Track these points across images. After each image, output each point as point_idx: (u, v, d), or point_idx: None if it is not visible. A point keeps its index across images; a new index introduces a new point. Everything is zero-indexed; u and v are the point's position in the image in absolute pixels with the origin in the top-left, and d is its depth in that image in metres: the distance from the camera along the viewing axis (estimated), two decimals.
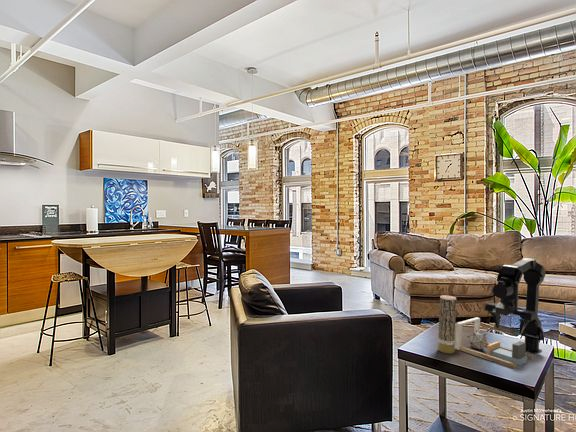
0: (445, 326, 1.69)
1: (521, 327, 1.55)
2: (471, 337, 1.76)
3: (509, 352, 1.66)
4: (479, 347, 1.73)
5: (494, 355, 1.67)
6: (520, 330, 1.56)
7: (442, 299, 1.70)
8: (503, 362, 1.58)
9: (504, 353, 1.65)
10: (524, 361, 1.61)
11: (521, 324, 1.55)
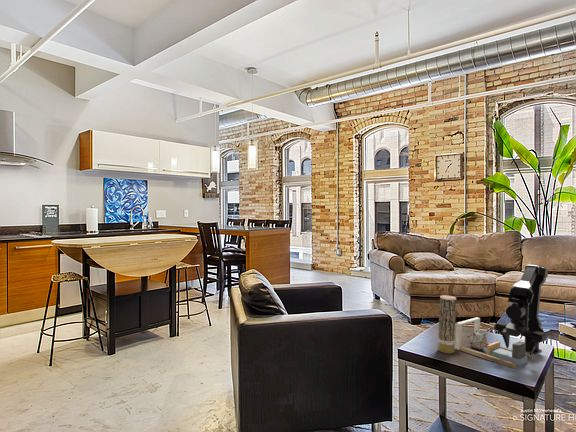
0: (445, 326, 1.69)
1: (531, 348, 1.57)
2: (471, 337, 1.76)
3: (509, 352, 1.66)
4: (479, 347, 1.73)
5: (494, 355, 1.67)
6: (530, 351, 1.57)
7: (442, 299, 1.70)
8: (503, 362, 1.58)
9: (504, 353, 1.65)
10: (524, 361, 1.61)
11: (531, 345, 1.57)
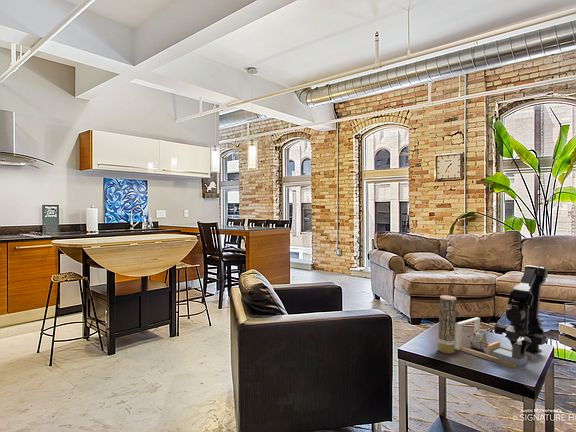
0: (445, 326, 1.69)
1: (523, 348, 1.59)
2: (471, 337, 1.76)
3: (509, 352, 1.66)
4: (479, 347, 1.73)
5: (494, 355, 1.67)
6: (522, 351, 1.60)
7: (442, 299, 1.70)
8: (503, 362, 1.58)
9: (504, 353, 1.65)
10: (524, 361, 1.61)
11: (523, 345, 1.59)
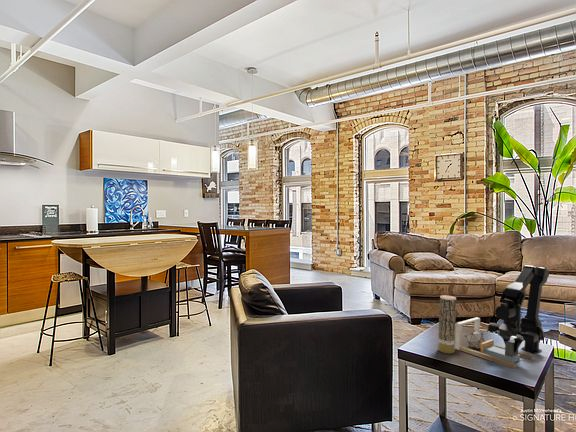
0: (445, 326, 1.69)
1: (516, 346, 1.62)
2: (469, 336, 1.77)
3: (502, 350, 1.69)
4: (477, 346, 1.74)
5: (487, 353, 1.69)
6: (515, 349, 1.62)
7: (442, 299, 1.70)
8: (503, 362, 1.58)
9: (497, 351, 1.67)
10: (517, 359, 1.63)
11: (516, 343, 1.61)
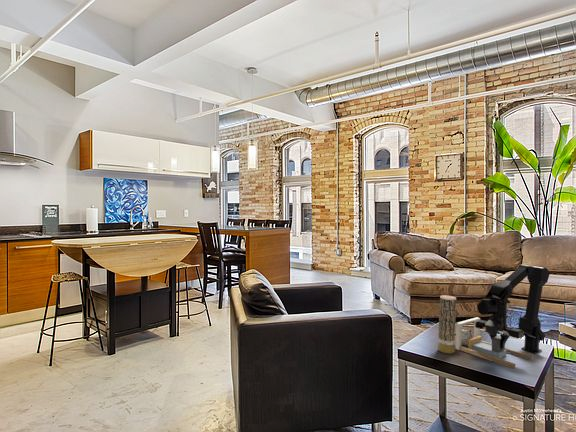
0: (445, 326, 1.69)
1: (502, 342, 1.66)
2: None
3: (489, 346, 1.73)
4: (467, 343, 1.77)
5: (475, 349, 1.73)
6: (501, 345, 1.67)
7: (442, 299, 1.70)
8: (503, 362, 1.58)
9: (484, 347, 1.72)
10: (503, 354, 1.68)
11: (502, 339, 1.66)
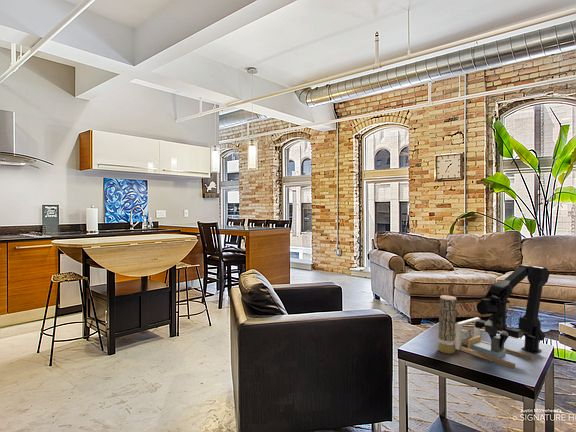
0: (445, 326, 1.69)
1: (501, 342, 1.67)
2: None
3: (489, 346, 1.73)
4: (466, 343, 1.78)
5: (474, 349, 1.74)
6: (500, 345, 1.67)
7: (442, 299, 1.70)
8: (503, 362, 1.58)
9: (484, 347, 1.72)
10: (502, 354, 1.68)
11: (501, 339, 1.66)
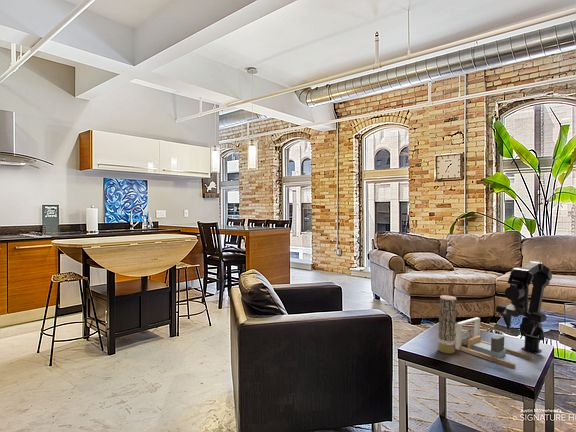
0: (445, 326, 1.69)
1: (531, 328, 1.61)
2: None
3: (489, 346, 1.73)
4: (466, 343, 1.78)
5: (474, 349, 1.74)
6: (530, 331, 1.61)
7: (442, 299, 1.70)
8: (503, 362, 1.58)
9: (484, 347, 1.72)
10: (502, 354, 1.68)
11: (531, 325, 1.60)
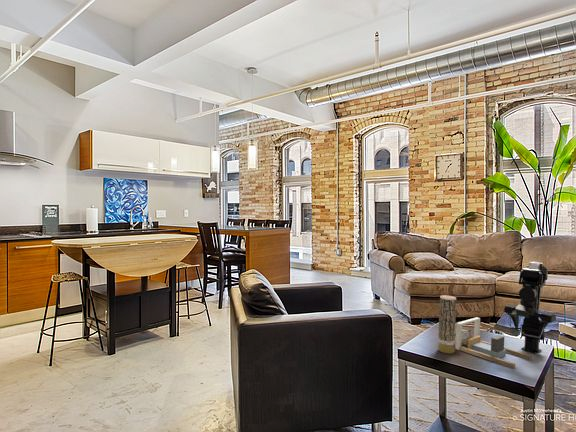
0: (445, 326, 1.69)
1: (541, 329, 1.59)
2: None
3: (489, 346, 1.73)
4: (466, 343, 1.78)
5: (474, 349, 1.74)
6: (540, 332, 1.60)
7: (442, 299, 1.70)
8: (503, 362, 1.58)
9: (484, 347, 1.72)
10: (502, 354, 1.68)
11: (541, 326, 1.59)
